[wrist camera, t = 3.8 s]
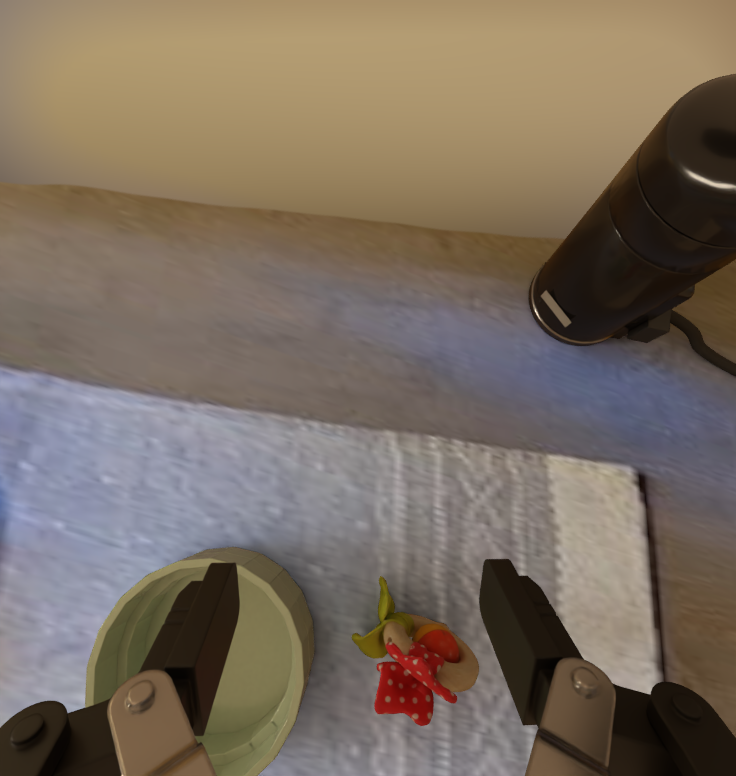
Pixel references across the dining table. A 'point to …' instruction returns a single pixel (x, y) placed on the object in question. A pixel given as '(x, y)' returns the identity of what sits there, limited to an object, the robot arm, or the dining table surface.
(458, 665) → the bird rattle
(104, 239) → the dining table surface
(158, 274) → the dining table surface
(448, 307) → the dining table surface
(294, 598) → the bowl
